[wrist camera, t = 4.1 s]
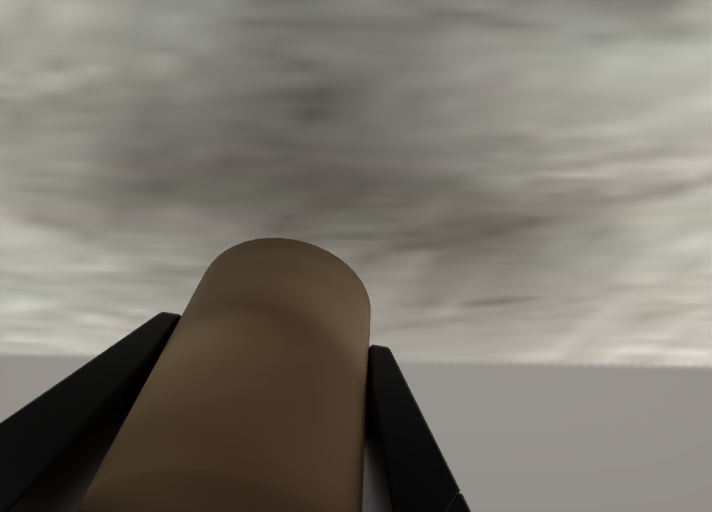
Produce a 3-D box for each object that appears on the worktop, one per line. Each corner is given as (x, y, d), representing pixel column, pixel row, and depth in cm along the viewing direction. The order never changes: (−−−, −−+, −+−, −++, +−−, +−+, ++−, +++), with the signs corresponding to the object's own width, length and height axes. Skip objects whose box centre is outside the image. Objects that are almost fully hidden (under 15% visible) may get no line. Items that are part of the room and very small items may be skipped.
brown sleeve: (203, 352, 12) (103, 581, 7) (196, 223, 9) (44, 452, 5) (355, 375, 12) (338, 611, 8) (386, 255, 9) (385, 500, 5)
